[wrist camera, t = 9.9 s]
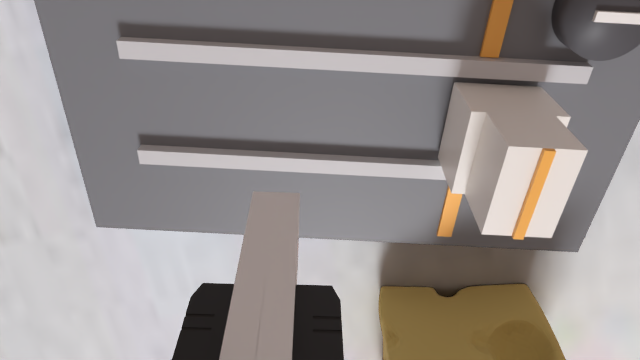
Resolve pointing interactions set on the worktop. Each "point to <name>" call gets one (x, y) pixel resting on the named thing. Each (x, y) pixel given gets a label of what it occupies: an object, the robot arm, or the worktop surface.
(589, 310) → the worktop surface
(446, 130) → the fader
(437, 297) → the cheese
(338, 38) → the console
